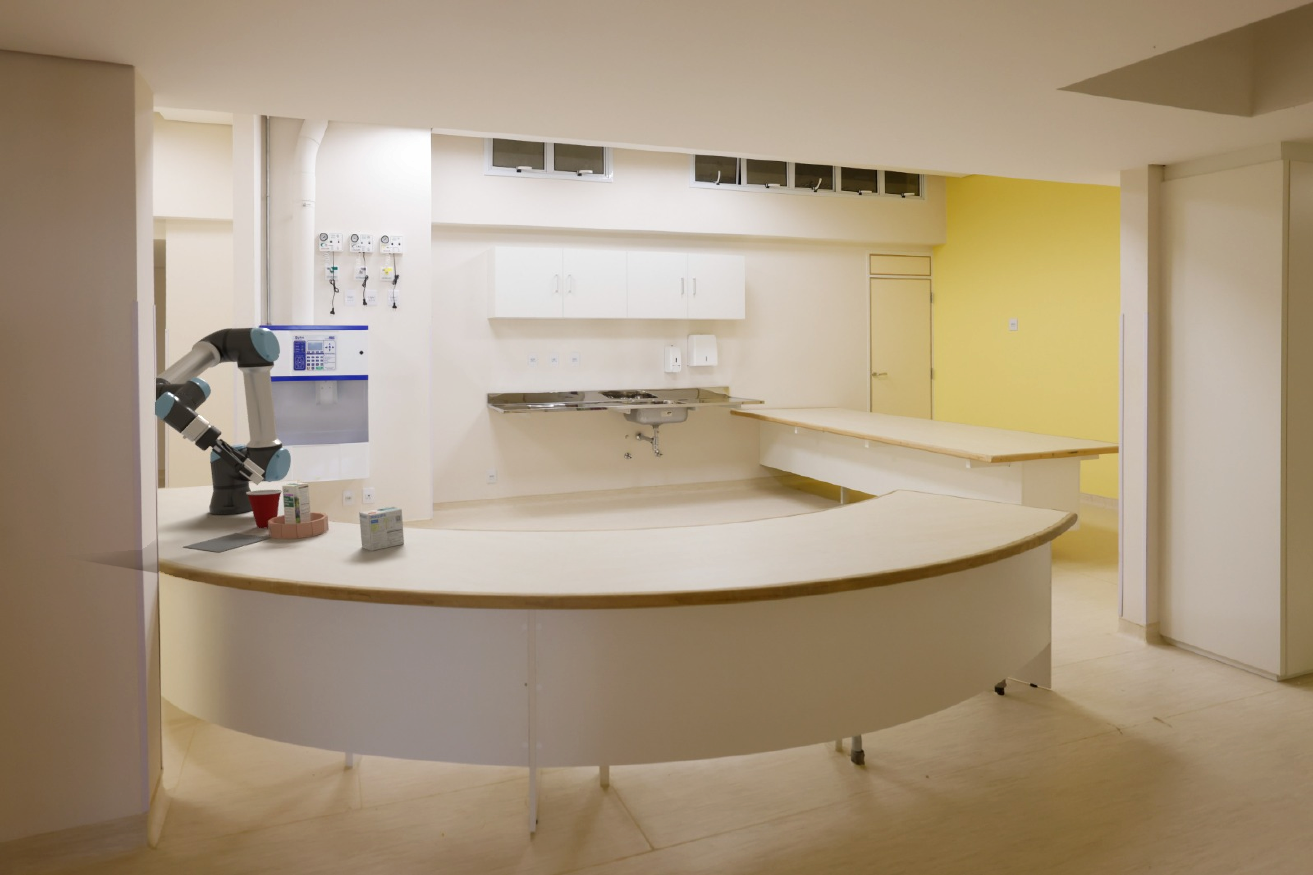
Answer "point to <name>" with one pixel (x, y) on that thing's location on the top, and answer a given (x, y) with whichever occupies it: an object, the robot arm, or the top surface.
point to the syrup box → (296, 503)
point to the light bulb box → (381, 528)
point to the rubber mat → (227, 542)
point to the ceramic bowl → (298, 527)
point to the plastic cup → (264, 505)
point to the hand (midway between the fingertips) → (261, 478)
